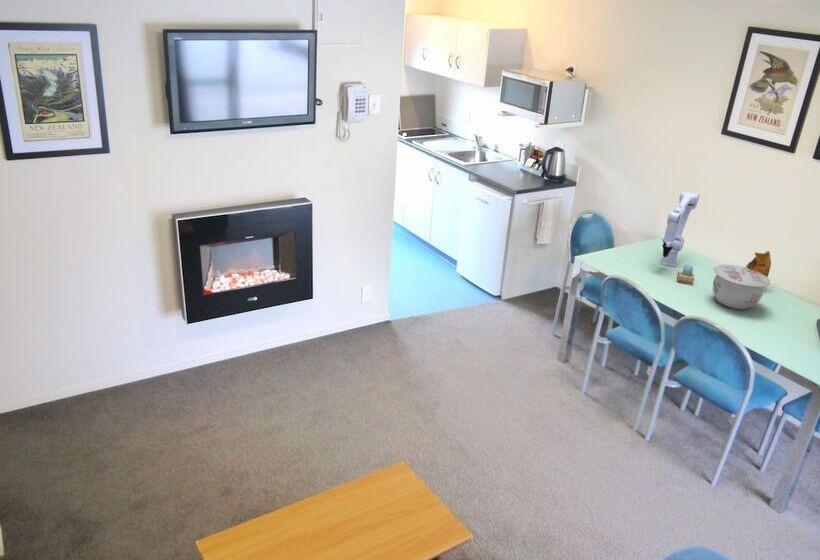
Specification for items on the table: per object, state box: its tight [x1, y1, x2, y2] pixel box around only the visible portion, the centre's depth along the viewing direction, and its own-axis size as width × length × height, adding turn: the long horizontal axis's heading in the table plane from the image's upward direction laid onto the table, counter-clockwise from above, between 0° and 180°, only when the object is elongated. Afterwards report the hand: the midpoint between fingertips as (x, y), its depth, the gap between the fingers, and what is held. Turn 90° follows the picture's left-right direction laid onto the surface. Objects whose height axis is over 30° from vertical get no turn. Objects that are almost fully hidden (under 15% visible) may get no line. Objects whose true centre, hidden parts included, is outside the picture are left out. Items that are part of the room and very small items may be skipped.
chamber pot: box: [712, 264, 771, 310], centre depth 351 cm, size 28×28×21 cm
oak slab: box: [677, 270, 695, 283], centre depth 377 cm, size 8×8×2 cm
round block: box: [682, 264, 694, 276], centre depth 375 cm, size 5×5×4 cm
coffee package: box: [745, 250, 772, 278], centre depth 373 cm, size 10×12×22 cm
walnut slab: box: [676, 274, 694, 286], centre depth 378 cm, size 8×8×2 cm
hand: (664, 254), depth 385 cm, fingers open, 7 cm apart
